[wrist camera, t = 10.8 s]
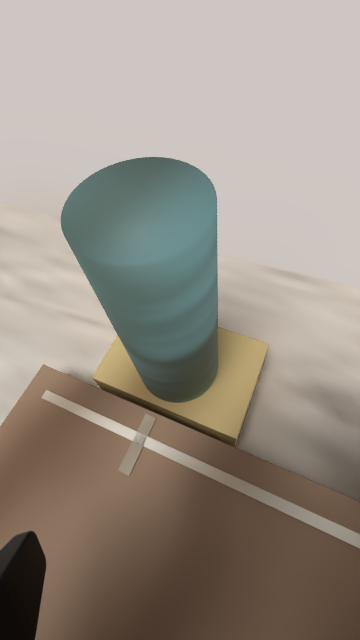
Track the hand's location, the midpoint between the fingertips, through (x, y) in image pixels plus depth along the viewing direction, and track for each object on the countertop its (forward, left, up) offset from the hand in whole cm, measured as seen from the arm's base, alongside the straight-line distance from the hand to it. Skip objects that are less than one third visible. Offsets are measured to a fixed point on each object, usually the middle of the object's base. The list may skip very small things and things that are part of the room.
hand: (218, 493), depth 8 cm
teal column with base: (+5, -3, -7) cm, 9 cm away
